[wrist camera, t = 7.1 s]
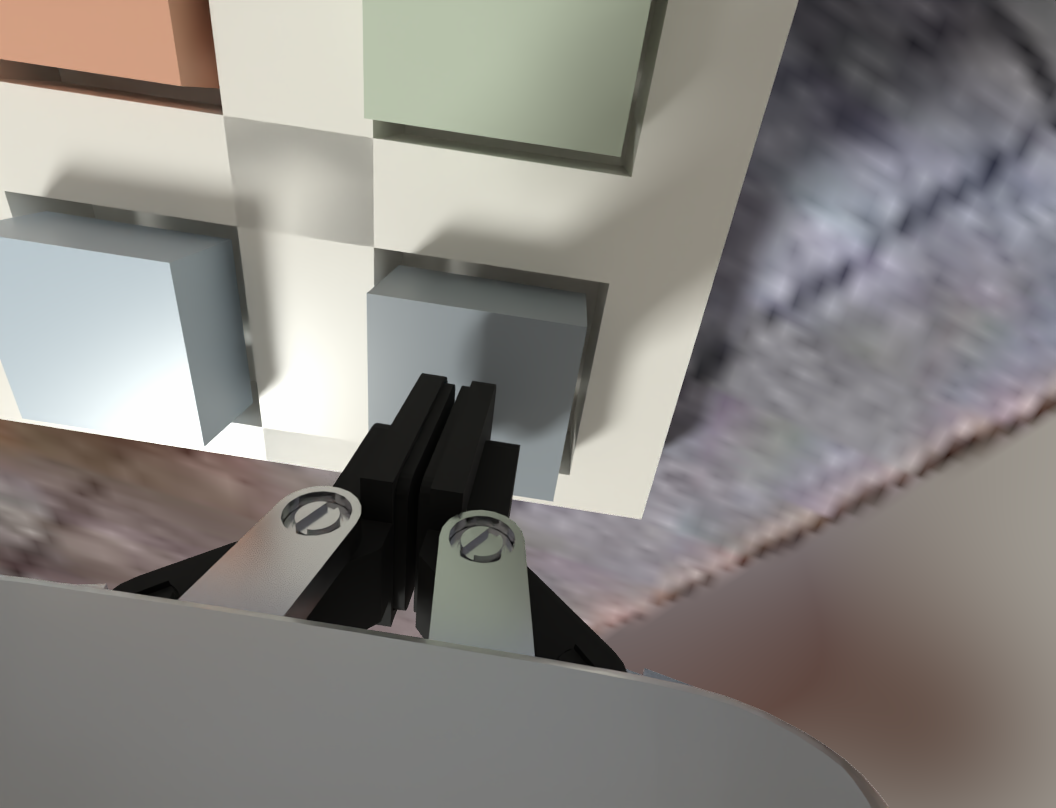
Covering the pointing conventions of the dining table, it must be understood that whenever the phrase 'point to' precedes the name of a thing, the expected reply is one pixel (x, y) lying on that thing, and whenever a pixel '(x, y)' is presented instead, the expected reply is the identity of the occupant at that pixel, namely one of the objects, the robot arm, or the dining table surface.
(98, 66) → the key terracotta
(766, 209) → the dining table surface
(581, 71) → the key sage
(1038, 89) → the dining table surface
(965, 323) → the dining table surface
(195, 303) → the key blue
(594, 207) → the keypad
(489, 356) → the key slate
